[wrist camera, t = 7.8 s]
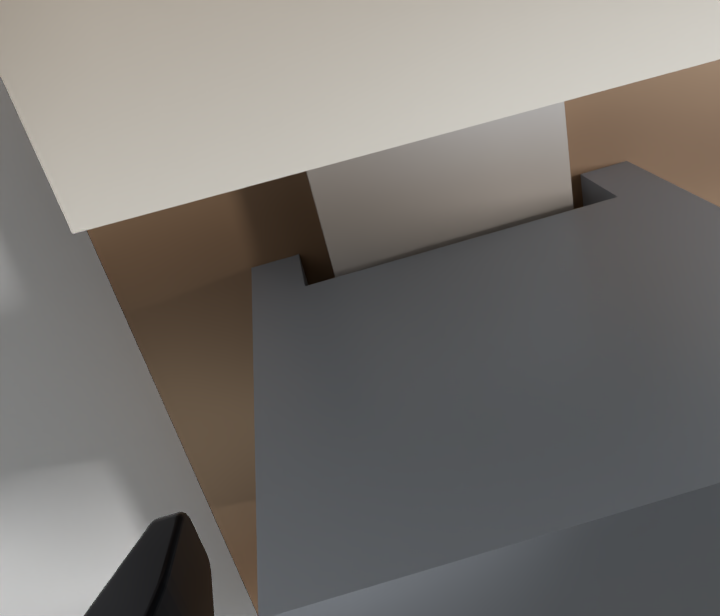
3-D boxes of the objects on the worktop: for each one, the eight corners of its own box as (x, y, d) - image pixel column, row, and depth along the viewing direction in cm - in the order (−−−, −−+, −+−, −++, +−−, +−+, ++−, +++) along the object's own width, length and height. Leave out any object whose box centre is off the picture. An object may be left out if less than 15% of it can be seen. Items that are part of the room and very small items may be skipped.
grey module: (640, 394, 13) (962, 738, 7) (327, 486, 13) (395, 914, 7) (627, 160, 11) (1066, 379, 5) (250, 267, 10) (257, 620, 5)
